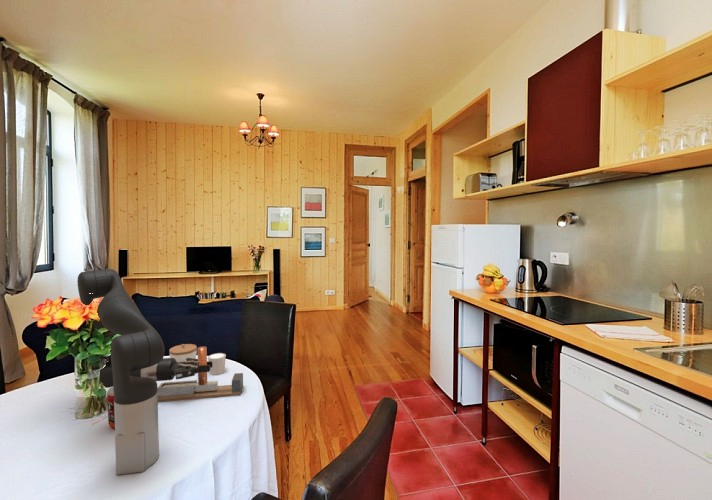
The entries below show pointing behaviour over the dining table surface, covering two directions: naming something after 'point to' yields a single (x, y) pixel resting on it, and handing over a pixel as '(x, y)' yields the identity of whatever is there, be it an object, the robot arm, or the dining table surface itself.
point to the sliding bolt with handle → (201, 375)
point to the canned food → (111, 408)
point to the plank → (204, 394)
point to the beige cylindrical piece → (217, 363)
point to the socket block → (237, 382)
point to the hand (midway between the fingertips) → (210, 366)
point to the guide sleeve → (176, 389)
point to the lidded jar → (183, 352)
